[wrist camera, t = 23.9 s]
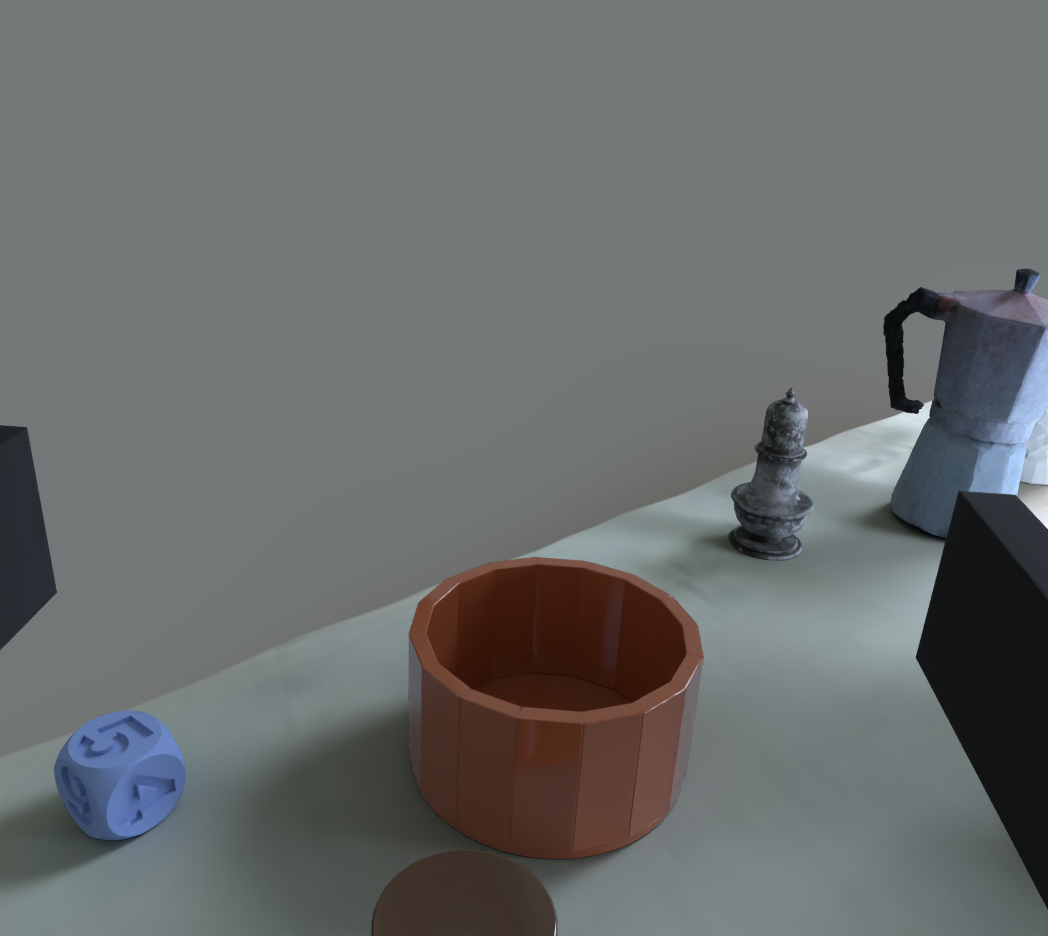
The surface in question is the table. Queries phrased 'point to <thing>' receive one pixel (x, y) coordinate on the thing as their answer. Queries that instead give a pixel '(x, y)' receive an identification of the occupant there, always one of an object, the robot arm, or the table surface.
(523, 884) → the lid
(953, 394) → the moka pot
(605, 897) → the table surface
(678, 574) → the table surface
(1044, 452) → the white cup
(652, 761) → the pot
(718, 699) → the table surface
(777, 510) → the salt shaker
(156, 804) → the decorative dice
